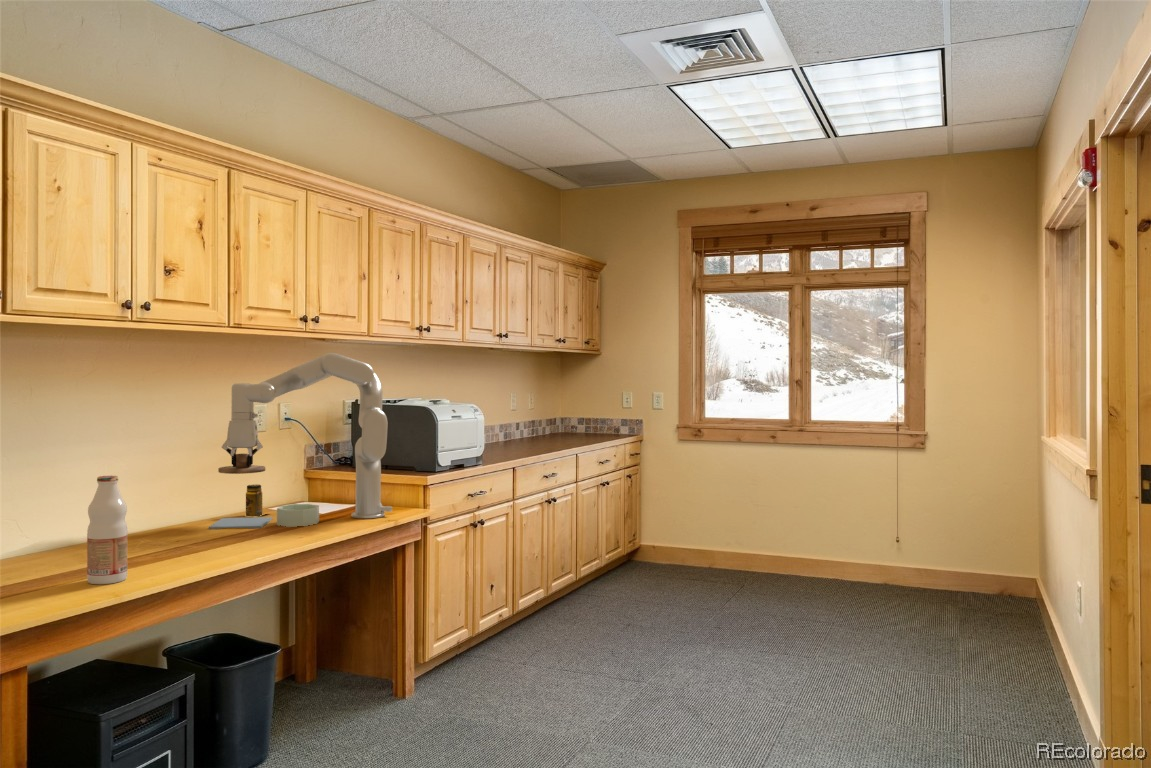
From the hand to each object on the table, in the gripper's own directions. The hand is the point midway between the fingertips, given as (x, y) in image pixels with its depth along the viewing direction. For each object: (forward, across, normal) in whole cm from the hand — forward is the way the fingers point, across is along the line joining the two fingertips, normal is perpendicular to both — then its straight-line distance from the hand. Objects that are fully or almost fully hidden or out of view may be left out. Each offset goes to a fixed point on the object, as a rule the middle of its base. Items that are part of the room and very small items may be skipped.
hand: (242, 466), depth 305 cm
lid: (+2, 0, 0) cm, 2 cm away
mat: (+21, 0, 0) cm, 21 cm away
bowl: (+21, -20, 0) cm, 29 cm away
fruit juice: (+22, +15, +81) cm, 85 cm away
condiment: (+22, -1, -18) cm, 28 cm away
